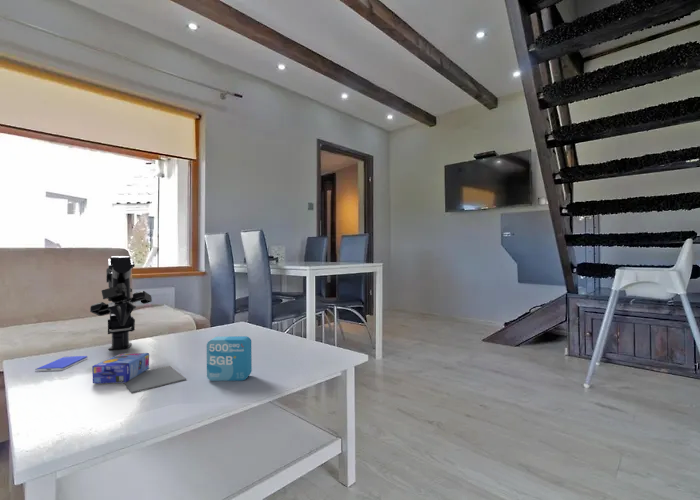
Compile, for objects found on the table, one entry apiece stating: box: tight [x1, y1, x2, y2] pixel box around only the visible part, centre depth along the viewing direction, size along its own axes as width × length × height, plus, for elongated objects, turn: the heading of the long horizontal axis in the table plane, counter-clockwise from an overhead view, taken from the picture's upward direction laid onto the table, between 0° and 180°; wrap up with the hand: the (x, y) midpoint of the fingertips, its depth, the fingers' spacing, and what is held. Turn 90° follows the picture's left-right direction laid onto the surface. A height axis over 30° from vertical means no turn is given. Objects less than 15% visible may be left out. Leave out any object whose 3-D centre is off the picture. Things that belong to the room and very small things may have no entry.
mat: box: [123, 365, 187, 394], centre depth 105 cm, size 16×14×1 cm
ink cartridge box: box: [91, 352, 150, 384], centre depth 105 cm, size 10×6×14 cm
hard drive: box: [34, 355, 89, 372], centre depth 119 cm, size 2×8×12 cm
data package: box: [206, 335, 253, 382], centre depth 105 cm, size 12×4×12 cm, turn 90°
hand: (122, 325), depth 124 cm, fingers closed
